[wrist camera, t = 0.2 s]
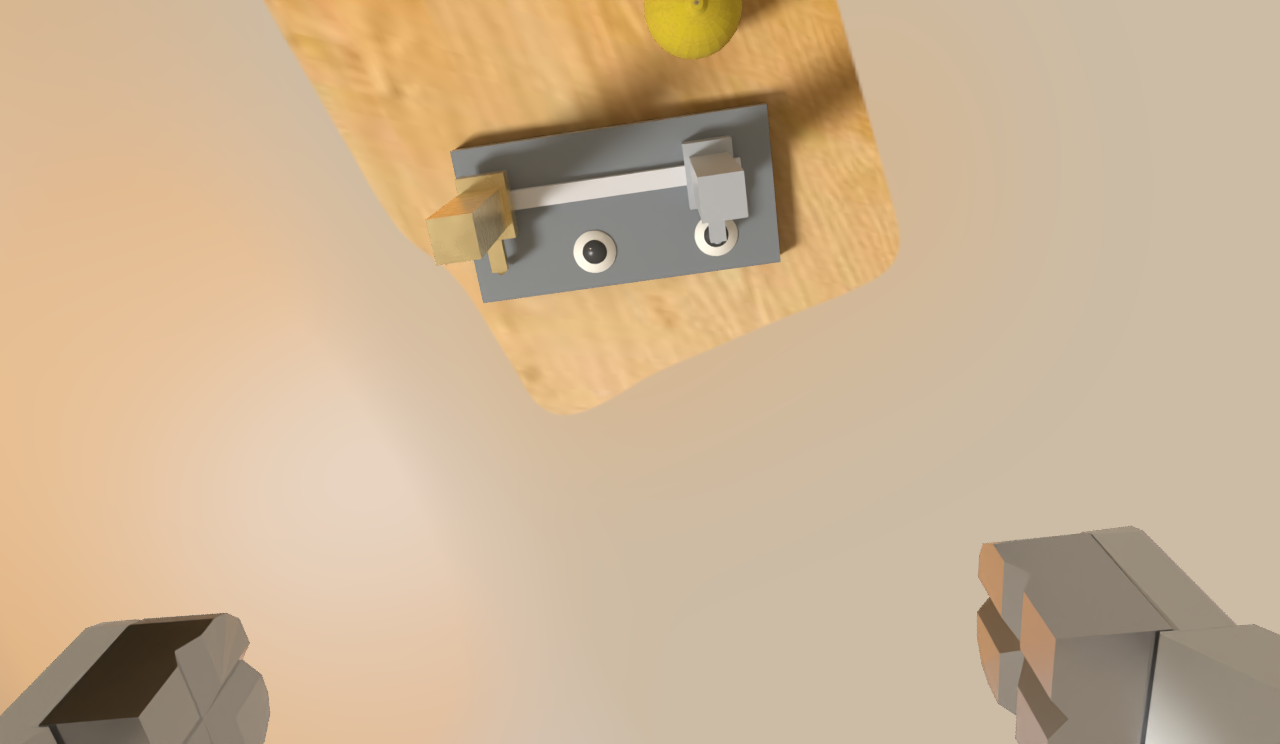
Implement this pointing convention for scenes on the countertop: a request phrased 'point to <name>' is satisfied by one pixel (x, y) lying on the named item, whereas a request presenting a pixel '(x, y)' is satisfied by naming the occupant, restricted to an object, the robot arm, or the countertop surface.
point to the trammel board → (633, 202)
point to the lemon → (692, 25)
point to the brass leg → (475, 222)
